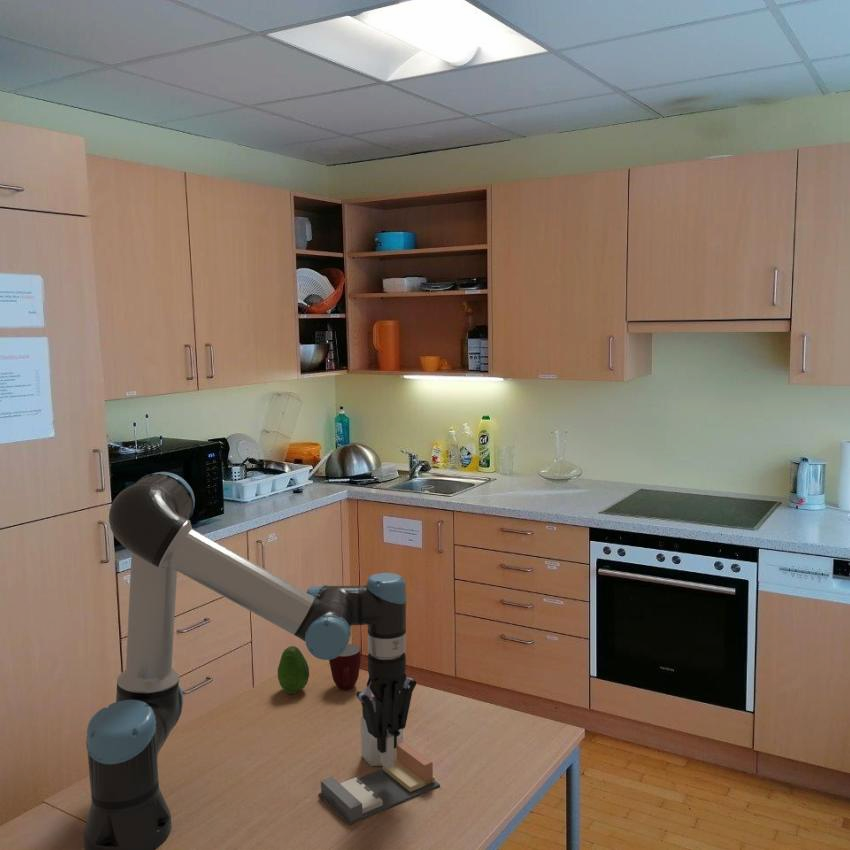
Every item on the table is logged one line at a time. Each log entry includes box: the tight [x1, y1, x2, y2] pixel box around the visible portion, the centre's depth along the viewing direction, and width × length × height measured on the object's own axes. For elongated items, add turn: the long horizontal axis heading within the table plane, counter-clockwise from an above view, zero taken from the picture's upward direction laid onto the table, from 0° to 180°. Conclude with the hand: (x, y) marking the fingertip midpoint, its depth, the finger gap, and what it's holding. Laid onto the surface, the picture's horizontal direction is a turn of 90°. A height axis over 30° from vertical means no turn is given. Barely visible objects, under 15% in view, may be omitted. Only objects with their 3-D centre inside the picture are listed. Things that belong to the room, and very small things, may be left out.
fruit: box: [277, 645, 310, 694], centre depth 208 cm, size 8×8×12 cm
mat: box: [318, 767, 441, 826], centre depth 164 cm, size 21×12×1 cm, turn 126°
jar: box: [360, 696, 404, 767], centre depth 176 cm, size 9×8×12 cm
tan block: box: [382, 741, 436, 792], centre depth 168 cm, size 6×10×4 cm, turn 36°
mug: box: [328, 643, 362, 692], centre depth 209 cm, size 11×8×10 cm
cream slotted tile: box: [320, 776, 383, 821], centre depth 161 cm, size 8×12×3 cm, turn 36°
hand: (387, 764), depth 165 cm, fingers closed
